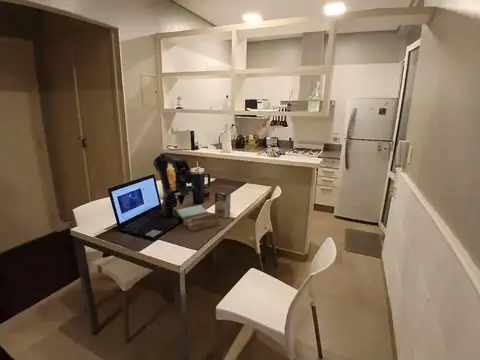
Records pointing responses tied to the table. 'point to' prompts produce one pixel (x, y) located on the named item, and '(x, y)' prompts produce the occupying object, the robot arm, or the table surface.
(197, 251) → the table surface
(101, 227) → the table surface
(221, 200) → the coffee box
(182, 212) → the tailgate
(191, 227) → the brown wooden block
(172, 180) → the pancake mix bag
